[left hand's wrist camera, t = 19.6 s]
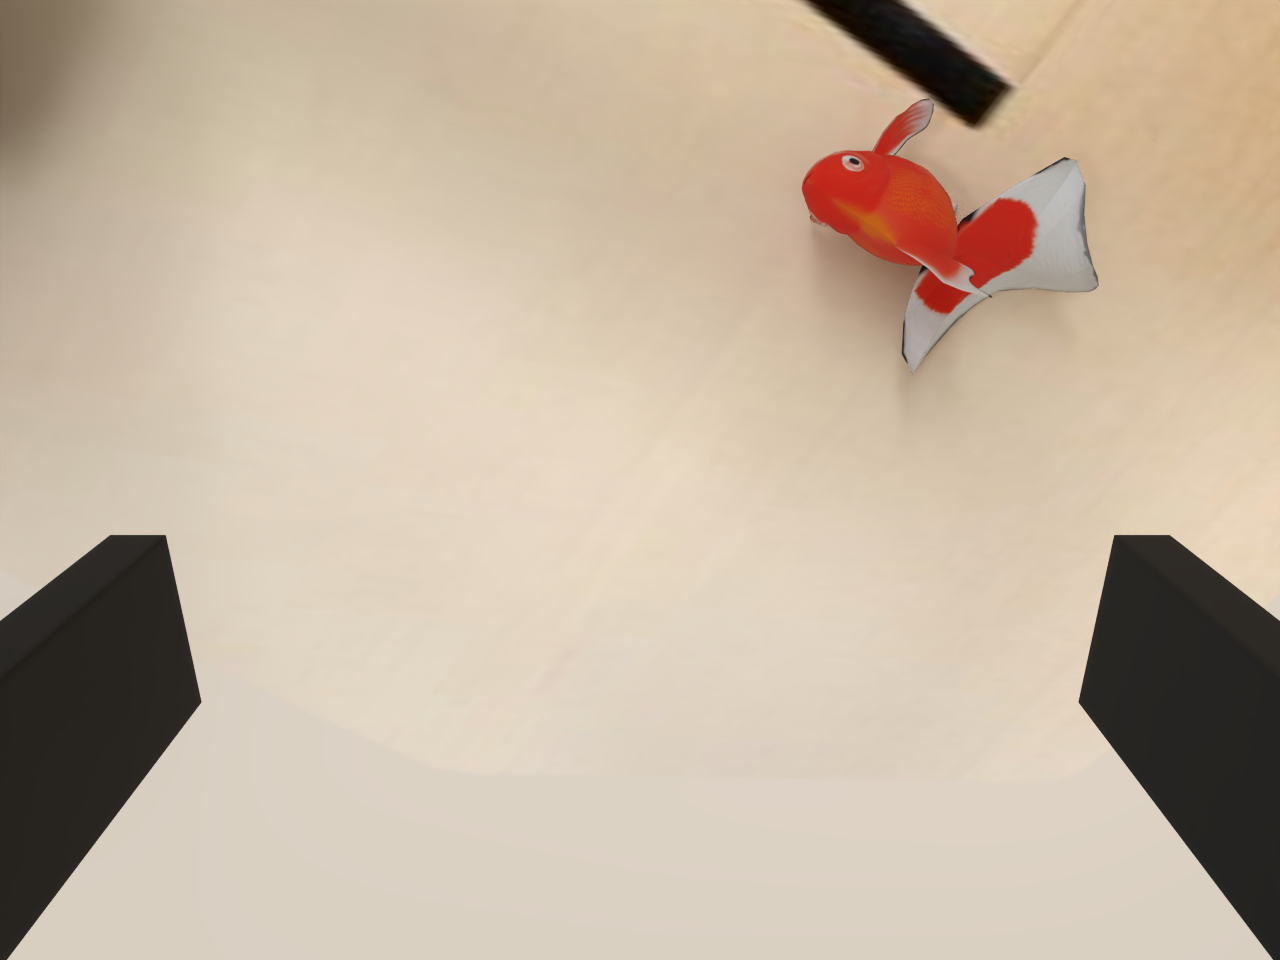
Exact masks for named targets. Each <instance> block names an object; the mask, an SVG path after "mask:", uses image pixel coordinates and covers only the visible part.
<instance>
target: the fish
mask: <svg viewBox="0 0 1280 960" xmlns="http://www.w3.org/2000/svg"><path fill="white" fill-rule="evenodd" d="M933 107H934V104H933V103H932V102H931V100H930V99H923V100H920V101H918V102H916V103H915V104H913V105H911V106H910V107H909V108H908V109H907V110H906V111H905V112H903V113H902V114H900V115H898V116H897V117H895V119H894V120H893V121H892V122H891V123H890V124H889V126H888V127H887V128H886V129H885V130H884V132H883V133H882V135H881V137H880V138H879V140H878V142H877V144H876V145H875V147H874V149H873V151H872V152H871V151H840V152H835V153H833V154H831V155H829V156H826V157H824V158H822V159H820V160H819V161H818V162H817V163H816V164H815V165H814V166H813V167H812V168H811V169H810V170H809V171H808V172H807V174H806V176H805V178H804V180H803V185H802V191H803V195H804V197H805V201H806V203H807V206H808V209H809V212H810V214H811V216H810V219H811V221H812V222H814V223H817V224H820V225H822V226H828V227H832V228H833V229H834V230H835V231H837V232H839V233H841V234H847V235H848V236H850V237H851V238H852V239H853V240H854V241H855V242H856V243H857V244H858V245H859V246H860V247H862V248H863V249H865V250H866V251H868V252H870V253H871V254H873V255H875V256H877V257H879V258H882V259H884V260H887V261H890V262H894V263H899V264H904V265H911V266H912V265H922V268H921V270H920V272H919V275H918V277H917V280H916V282H915V285H914V287H913V290H912V292H911V295H910V299H909V302H908V305H907V309H906V314H905V318H904V324H903V342H902V355H903V357H904V359H905V360H906V362H907V364H908V366H909V368H910V370H911V371H912V373H913V375H914V373H915V372H916V370H917V369H918V367H919V365H920V364H921V362H922V361H923V359H924V358H925V356H926V355H927V354H928V353H929V352H930V351H931V349H932V348H933V347H934V346H935V345H936V344H937V342H938V341H939V340H940V339H941V338H942V337H943V335H944V334H945V333H946V332H947V331H948V330H949V328H950V327H951V326H952V325H953V324H955V323H956V322H957V321H958V320H959V319H960V318H961V317H962V316H963V315H964V314H965V313H966V312H967V311H968V310H969V309H971V308H972V307H973V306H975V305H976V304H978V303H979V302H981V301H982V300H983V299H985V298H986V297H992V296H991V294H993V293H995V292H996V291H1005V290H1015V289H1031V288H1035V289H1043V290H1050V291H1060V292H1090V291H1092V290H1095V289H1096V288H1097V287H1098V286H1099V284H1098V277H1097V274H1096V272H1095V270H1094V267H1093V264H1092V260H1091V256H1090V252H1089V249H1088V245H1087V237H1086V228H1085V219H1084V207H1085V187H1086V185H1085V182H1084V180H1083V177H1082V174H1081V171H1080V168H1079V165H1078V162H1077V160H1073V159H1069V158H1065V157H1064V158H1062V159H1060V160H1059V161H1057V162H1055V163H1053V164H1052V165H1050V166H1048V167H1046V168H1045V169H1043V170H1041V171H1040V172H1038V173H1036V174H1034V175H1032V176H1031V177H1029V178H1027V179H1025V180H1023V181H1022V182H1020V183H1018V184H1016V185H1015V186H1013V187H1011V188H1010V189H1008V190H1007V191H1005V192H1003V193H1002V194H1000V195H999V196H997V197H996V198H994V199H992V200H991V201H989V202H988V203H986V204H985V205H983V206H982V207H980V208H979V209H977V210H976V211H974V212H973V213H971V214H970V215H968V216H966V217H965V218H963V219H962V221H961V222H960V223H959V224H958V226H957V222H956V218H955V214H954V212H955V210H956V208H957V207H958V205H957V204H956V203H953V204H952V202H951V200H950V198H949V196H948V194H947V192H946V191H945V190H944V188H943V187H942V186H941V185H940V183H939V182H938V181H937V180H936V178H935V177H934V176H933V175H932V174H931V173H930V172H929V171H928V170H926V169H925V168H923V167H922V166H920V165H918V164H915V163H913V162H911V161H908V160H906V159H903V158H901V157H898V156H894V155H895V154H896V153H897V152H898V151H899V150H900V148H901V147H902V146H903V145H904V144H905V142H906V141H907V140H909V139H910V138H911V137H913V136H914V135H916V134H918V133H919V132H921V131H922V130H924V129H925V128H926V127H927V126H928V124H929V122H930V119H931V116H932V114H933ZM812 217H813V219H812Z"/></svg>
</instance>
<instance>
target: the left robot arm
mask: <svg viewBox="0 0 1280 960" xmlns="http://www.w3.org/2000/svg"><path fill="white" fill-rule="evenodd" d="M200 704H201V698H200V693H199V688H198V684H197V679H196V674H195V670H194V665H193V660H192V656H191V651H190V646H189V642H188V637H187V632H186V628H185V623H184V618H183V614H182V609H181V604H180V600H179V595H178V590H177V586H176V581H175V576H174V572H173V567H172V562H171V558H170V553H169V548H168V544H167V539H166V535H110V536H109V537H107V538H106V539H105V540H103V541H102V542H101V543H100V544H98V545H97V546H96V547H95V548H93V549H92V550H91V551H89V552H88V553H87V554H86V555H84V556H83V557H82V558H80V559H79V560H78V561H77V562H75V563H74V564H73V565H71V566H70V567H69V568H68V569H66V570H65V571H64V572H62V573H61V574H60V575H59V576H57V577H56V578H55V579H53V580H52V581H51V582H50V583H48V584H47V585H46V586H44V587H43V588H42V589H41V590H39V591H38V592H37V593H36V594H34V595H33V596H32V597H30V598H29V599H28V600H27V601H25V602H24V603H23V604H21V605H20V606H19V607H18V608H16V609H15V610H14V611H12V612H11V613H10V614H9V615H7V616H6V617H5V618H3V619H2V620H1V621H0V960H7V959H8V957H9V956H10V955H11V953H12V952H13V951H14V950H15V948H16V947H17V946H18V944H19V943H20V942H21V940H22V939H23V938H24V936H25V935H26V934H27V932H28V931H29V930H30V928H31V927H32V926H33V924H34V923H35V922H36V920H37V919H38V918H39V916H40V915H41V914H42V913H43V911H44V910H45V909H46V907H47V906H48V905H49V903H50V902H51V901H52V899H53V898H54V897H55V895H56V894H57V893H58V891H59V890H60V889H61V887H62V886H63V885H64V883H65V882H66V881H67V879H68V878H69V877H70V875H71V874H72V873H73V872H74V870H75V869H76V868H77V866H78V865H79V864H80V862H81V861H82V860H83V858H84V857H85V856H86V854H87V853H88V852H89V850H90V849H91V848H92V846H93V845H94V844H95V842H96V841H97V840H98V838H99V837H100V836H101V834H102V833H103V832H104V831H105V829H106V828H107V827H108V825H109V824H110V823H111V821H112V820H113V819H114V817H115V816H116V815H117V813H118V812H119V811H120V809H121V808H122V807H123V805H124V804H125V803H126V801H127V800H128V799H129V797H130V796H131V795H132V793H133V792H134V791H135V789H136V788H137V787H138V785H139V784H140V783H141V782H142V780H143V779H144V778H145V776H146V775H147V774H148V772H149V771H150V770H151V768H152V767H153V766H154V764H155V763H156V762H157V760H158V759H159V758H160V756H161V755H162V754H163V752H164V751H165V750H166V748H167V747H168V746H169V745H170V743H171V742H172V740H173V739H174V738H175V736H176V735H177V734H178V733H179V731H180V730H181V729H182V727H183V726H184V725H185V723H186V722H187V721H188V719H189V718H190V717H191V715H192V714H193V713H194V711H195V710H196V709H197V707H198V706H199V705H200ZM1079 704H1080V705H1081V706H1082V707H1083V709H1084V710H1085V711H1086V713H1087V714H1088V715H1089V717H1090V718H1091V719H1092V721H1093V722H1094V723H1095V725H1096V726H1097V727H1098V729H1099V730H1100V731H1101V733H1102V734H1103V735H1104V737H1105V738H1106V739H1107V741H1108V742H1109V743H1110V745H1111V746H1112V747H1113V749H1114V750H1115V751H1116V752H1117V754H1118V755H1119V756H1120V758H1121V759H1122V760H1123V762H1124V763H1125V764H1126V766H1127V767H1128V768H1129V770H1130V771H1131V772H1132V774H1133V775H1134V776H1135V778H1136V779H1137V780H1138V782H1139V783H1140V784H1141V786H1142V787H1143V788H1144V790H1145V791H1146V792H1147V793H1148V795H1149V796H1150V797H1151V799H1152V800H1153V801H1154V803H1155V804H1156V805H1157V807H1158V808H1159V809H1160V811H1161V812H1162V813H1163V815H1164V816H1165V817H1166V819H1167V820H1168V821H1169V823H1170V824H1171V825H1172V827H1173V828H1174V829H1175V830H1176V832H1177V833H1178V834H1179V836H1180V837H1181V838H1182V840H1183V841H1184V842H1185V844H1186V845H1187V846H1188V848H1189V849H1190V850H1191V852H1192V853H1193V854H1194V856H1195V857H1196V858H1197V860H1198V861H1199V862H1200V864H1201V865H1202V866H1203V868H1204V869H1205V870H1206V871H1207V873H1208V874H1209V875H1210V877H1211V878H1212V879H1213V881H1214V882H1215V883H1216V885H1217V886H1218V887H1219V889H1220V890H1221V891H1222V893H1223V894H1224V895H1225V897H1226V898H1227V899H1228V901H1229V902H1230V903H1231V905H1232V906H1233V907H1234V909H1235V910H1236V911H1237V913H1238V914H1239V915H1240V916H1241V918H1242V919H1243V920H1244V922H1245V923H1246V924H1247V926H1248V927H1249V928H1250V930H1251V931H1252V932H1253V934H1254V935H1255V936H1256V938H1257V939H1258V940H1259V942H1260V943H1261V944H1262V946H1263V947H1264V948H1265V950H1266V951H1267V952H1268V953H1269V955H1270V956H1271V957H1272V959H1273V960H1280V621H1279V620H1278V619H1276V618H1275V617H1274V616H1273V615H1271V614H1270V613H1269V612H1267V611H1266V610H1265V609H1264V608H1262V607H1261V606H1260V605H1259V604H1257V603H1256V602H1255V601H1253V600H1252V599H1251V598H1250V597H1248V596H1247V595H1246V594H1244V593H1243V592H1242V591H1241V590H1239V589H1238V588H1237V587H1236V586H1234V585H1233V584H1232V583H1230V582H1229V581H1228V580H1227V579H1225V578H1224V577H1223V576H1221V575H1220V574H1219V573H1218V572H1216V571H1215V570H1214V569H1212V568H1211V567H1210V566H1209V565H1207V564H1206V563H1205V562H1203V561H1202V560H1201V559H1200V558H1198V557H1197V556H1196V555H1194V554H1193V553H1192V552H1191V551H1189V550H1188V549H1187V548H1185V547H1184V546H1183V545H1182V544H1180V543H1179V542H1178V541H1177V540H1175V539H1174V538H1173V537H1171V536H1170V535H1114V539H1113V544H1112V548H1111V553H1110V558H1109V562H1108V567H1107V572H1106V576H1105V581H1104V586H1103V590H1102V595H1101V600H1100V604H1099V609H1098V614H1097V618H1096V623H1095V628H1094V632H1093V637H1092V642H1091V646H1090V651H1089V656H1088V660H1087V665H1086V670H1085V674H1084V679H1083V684H1082V688H1081V693H1080V698H1079Z"/></svg>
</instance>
